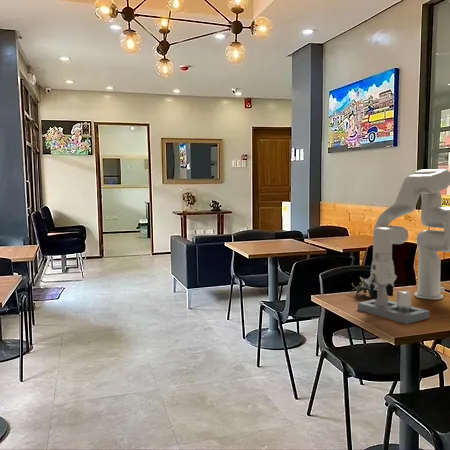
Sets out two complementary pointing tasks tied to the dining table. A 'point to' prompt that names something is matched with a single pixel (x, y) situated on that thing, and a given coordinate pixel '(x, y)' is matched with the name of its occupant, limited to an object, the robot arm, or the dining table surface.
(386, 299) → the salt shaker
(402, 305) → the steel pin
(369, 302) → the hole plate
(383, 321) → the dining table surface
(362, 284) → the toy creature figurine
